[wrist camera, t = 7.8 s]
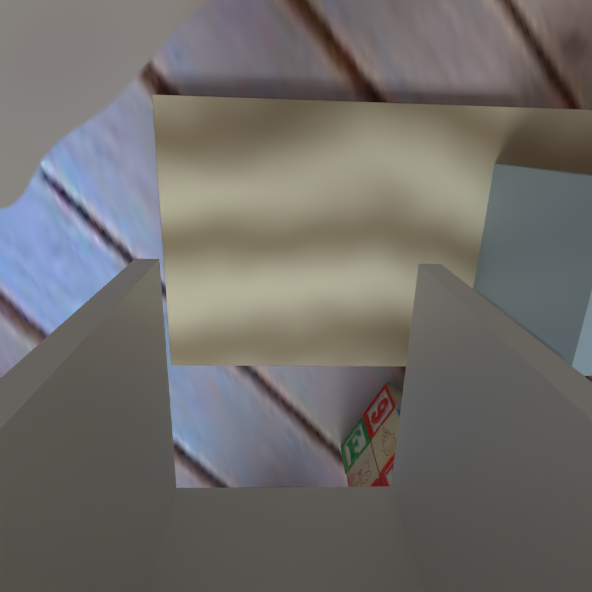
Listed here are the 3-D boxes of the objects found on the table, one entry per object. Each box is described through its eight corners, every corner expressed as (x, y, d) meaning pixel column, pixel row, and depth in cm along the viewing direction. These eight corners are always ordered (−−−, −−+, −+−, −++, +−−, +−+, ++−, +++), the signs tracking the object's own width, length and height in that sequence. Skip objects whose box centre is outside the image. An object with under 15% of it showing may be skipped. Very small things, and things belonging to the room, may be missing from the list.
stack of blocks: (605, 495, 36) (763, 666, 24) (553, 547, 38) (678, 732, 26) (383, 380, 32) (446, 523, 20) (336, 446, 33) (369, 613, 22)
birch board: (609, 360, 32) (619, 367, 31) (174, 357, 30) (171, 365, 29) (680, 114, 26) (696, 113, 25) (156, 96, 25) (152, 94, 24)
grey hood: (407, 501, 15) (641, 1153, 5) (158, 503, 14) (-68, 1211, 5) (440, 263, 12) (1040, 731, 3) (135, 258, 12) (-462, 786, 2)
